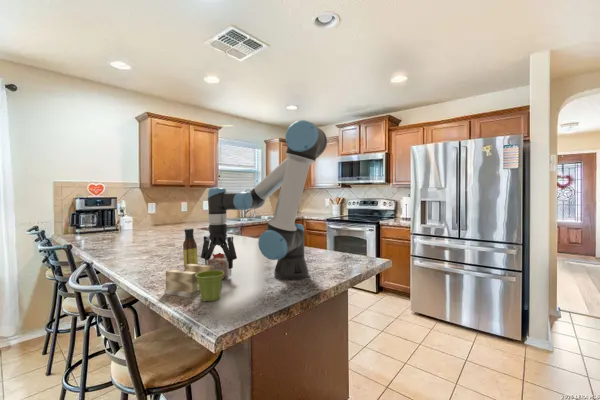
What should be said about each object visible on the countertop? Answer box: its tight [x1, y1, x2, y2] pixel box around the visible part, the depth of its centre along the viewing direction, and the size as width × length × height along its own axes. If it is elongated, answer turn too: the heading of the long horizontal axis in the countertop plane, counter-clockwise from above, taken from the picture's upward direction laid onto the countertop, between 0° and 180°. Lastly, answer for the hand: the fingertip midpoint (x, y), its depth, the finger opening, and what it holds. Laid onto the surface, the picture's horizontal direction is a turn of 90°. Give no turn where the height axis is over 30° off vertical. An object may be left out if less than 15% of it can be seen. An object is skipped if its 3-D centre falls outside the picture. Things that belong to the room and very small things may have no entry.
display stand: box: [163, 264, 214, 298], centre depth 110 cm, size 12×14×8 cm
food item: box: [207, 252, 228, 280], centre depth 126 cm, size 14×8×10 cm, turn 7°
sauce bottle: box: [182, 227, 199, 268], centre depth 140 cm, size 7×6×20 cm
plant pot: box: [196, 270, 224, 302], centre depth 100 cm, size 9×9×9 cm
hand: (219, 275), depth 126 cm, fingers closed on food item, 9 cm apart
